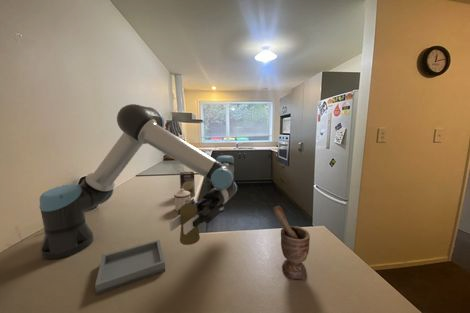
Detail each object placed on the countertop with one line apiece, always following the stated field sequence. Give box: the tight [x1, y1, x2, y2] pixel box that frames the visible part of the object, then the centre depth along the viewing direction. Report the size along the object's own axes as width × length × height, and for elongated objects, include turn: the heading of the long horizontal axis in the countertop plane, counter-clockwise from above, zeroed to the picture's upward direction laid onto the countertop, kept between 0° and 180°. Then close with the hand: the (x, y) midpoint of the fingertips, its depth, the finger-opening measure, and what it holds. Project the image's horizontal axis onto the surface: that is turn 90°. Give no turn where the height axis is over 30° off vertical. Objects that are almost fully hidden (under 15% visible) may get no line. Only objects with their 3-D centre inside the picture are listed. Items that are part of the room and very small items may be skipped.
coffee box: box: [179, 171, 196, 198], centre depth 125 cm, size 9×6×16 cm
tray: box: [94, 239, 166, 296], centre depth 61 cm, size 18×14×3 cm
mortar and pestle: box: [273, 205, 311, 280], centre depth 58 cm, size 12×9×20 cm
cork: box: [179, 204, 201, 246], centre depth 56 cm, size 6×6×11 cm
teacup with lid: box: [173, 189, 192, 212], centre depth 106 cm, size 12×9×12 cm
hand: (177, 228), depth 51 cm, fingers closed on cork, 4 cm apart
